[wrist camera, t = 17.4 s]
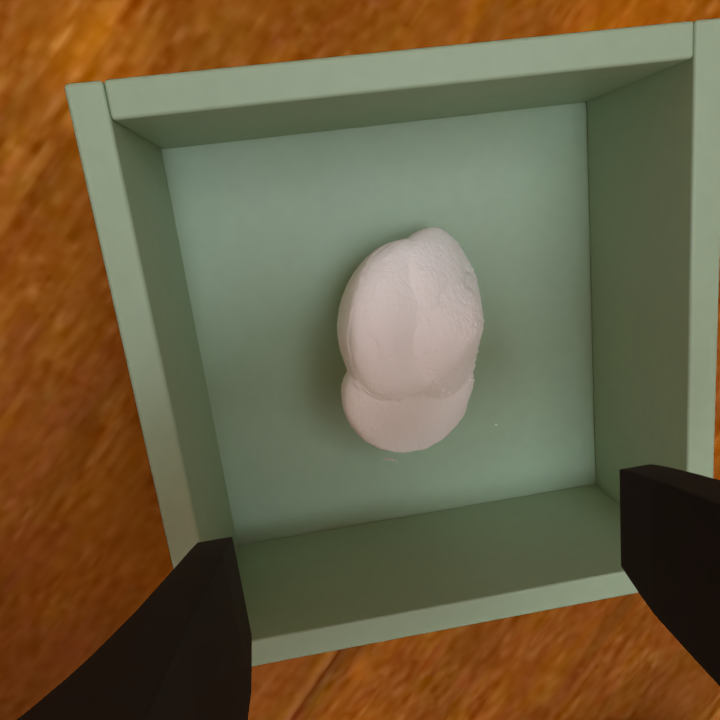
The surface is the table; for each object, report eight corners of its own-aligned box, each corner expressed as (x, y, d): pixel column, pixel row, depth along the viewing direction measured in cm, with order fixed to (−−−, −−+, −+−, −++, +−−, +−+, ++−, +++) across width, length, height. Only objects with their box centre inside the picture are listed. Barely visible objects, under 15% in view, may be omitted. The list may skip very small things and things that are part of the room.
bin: (220, 561, 21) (196, 678, 15) (132, 126, 17) (62, 83, 12) (609, 493, 22) (711, 579, 17) (601, 76, 18) (727, 16, 13)
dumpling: (318, 229, 18) (358, 203, 14) (465, 246, 20) (535, 227, 16) (306, 449, 19) (342, 481, 15) (452, 448, 20) (518, 476, 16)
